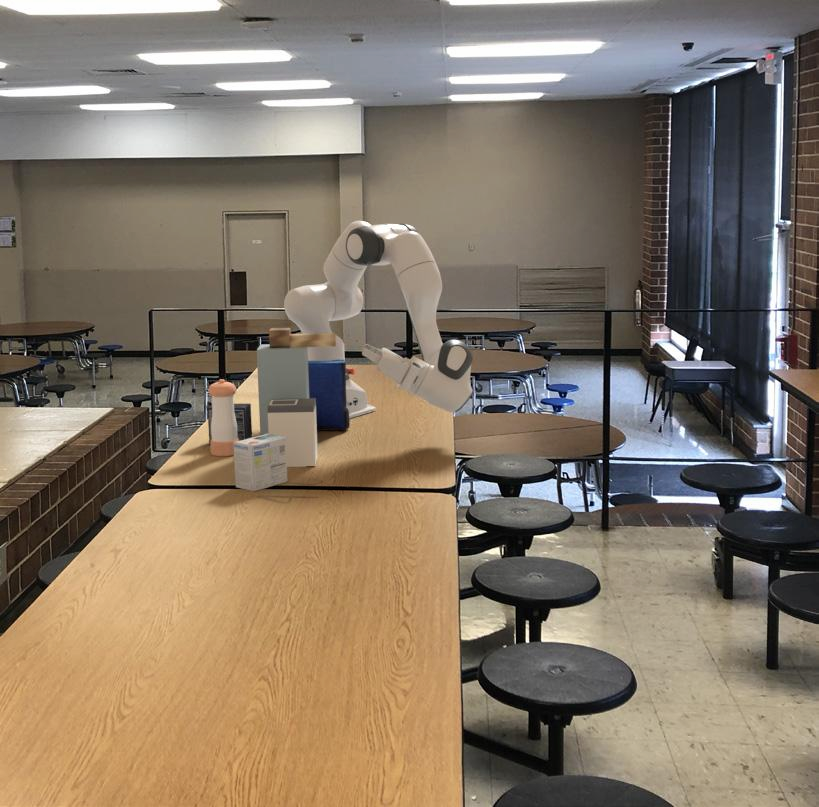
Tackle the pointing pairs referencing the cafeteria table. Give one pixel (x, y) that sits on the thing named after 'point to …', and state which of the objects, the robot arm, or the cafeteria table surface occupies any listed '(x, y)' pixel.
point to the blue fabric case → (329, 393)
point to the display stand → (280, 377)
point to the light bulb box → (260, 462)
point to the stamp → (299, 339)
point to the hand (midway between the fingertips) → (363, 348)
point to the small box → (242, 421)
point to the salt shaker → (223, 418)
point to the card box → (295, 429)
